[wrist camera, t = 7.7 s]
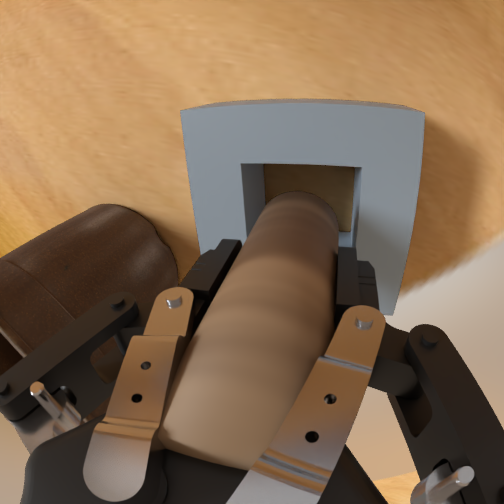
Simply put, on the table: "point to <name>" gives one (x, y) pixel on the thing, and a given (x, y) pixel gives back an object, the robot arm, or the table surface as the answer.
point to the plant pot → (78, 278)
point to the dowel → (258, 336)
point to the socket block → (316, 153)
